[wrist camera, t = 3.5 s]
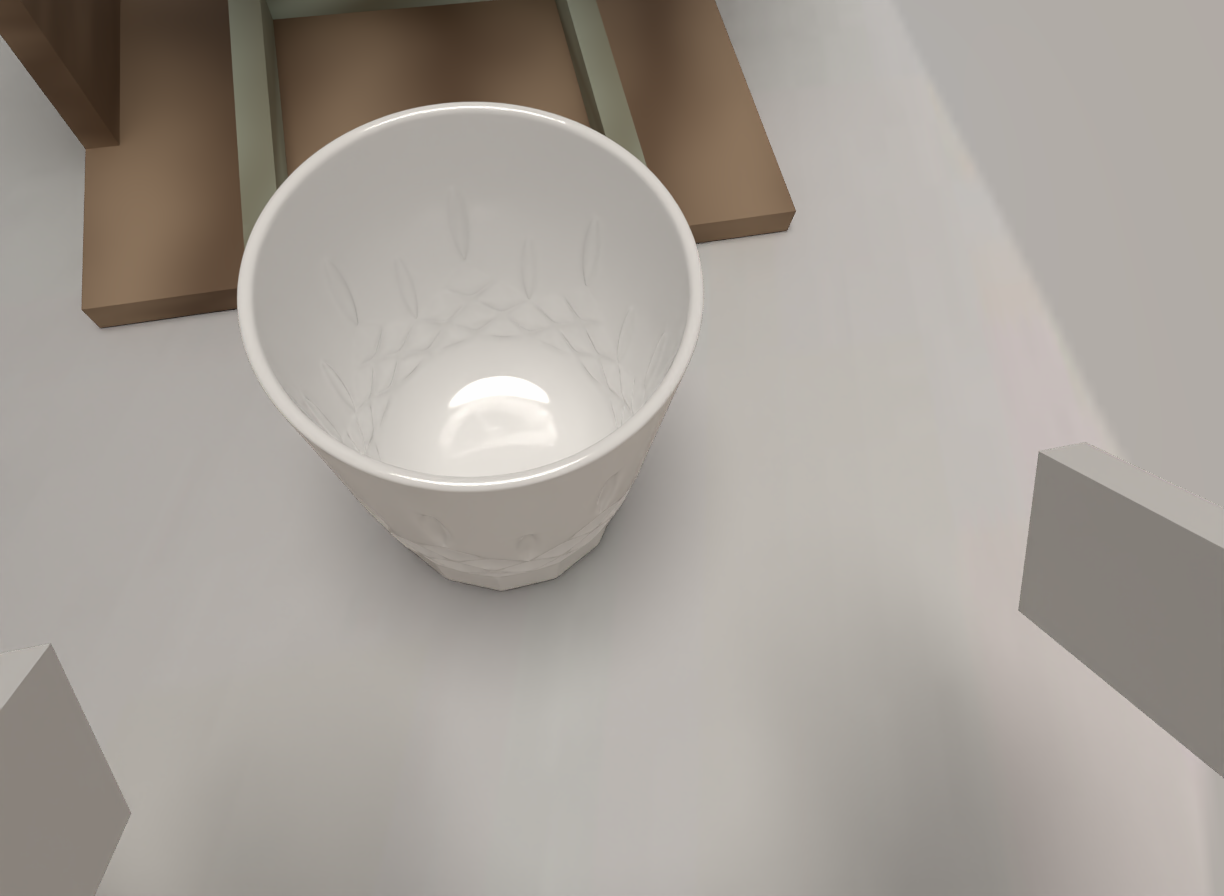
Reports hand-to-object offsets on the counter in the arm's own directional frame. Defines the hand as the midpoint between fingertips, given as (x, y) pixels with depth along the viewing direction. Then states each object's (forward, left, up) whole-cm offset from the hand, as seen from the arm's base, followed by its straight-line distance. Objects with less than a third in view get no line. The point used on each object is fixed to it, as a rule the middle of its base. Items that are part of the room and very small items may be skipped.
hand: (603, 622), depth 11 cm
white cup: (-1, +6, -11) cm, 13 cm away
